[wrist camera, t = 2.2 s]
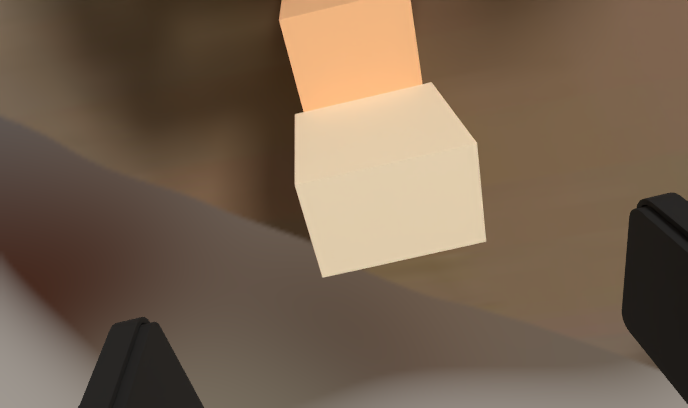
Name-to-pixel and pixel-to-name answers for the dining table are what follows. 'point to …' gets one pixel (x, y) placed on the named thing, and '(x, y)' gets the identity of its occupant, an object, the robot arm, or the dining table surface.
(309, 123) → the orange cream legged block
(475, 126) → the dining table surface
